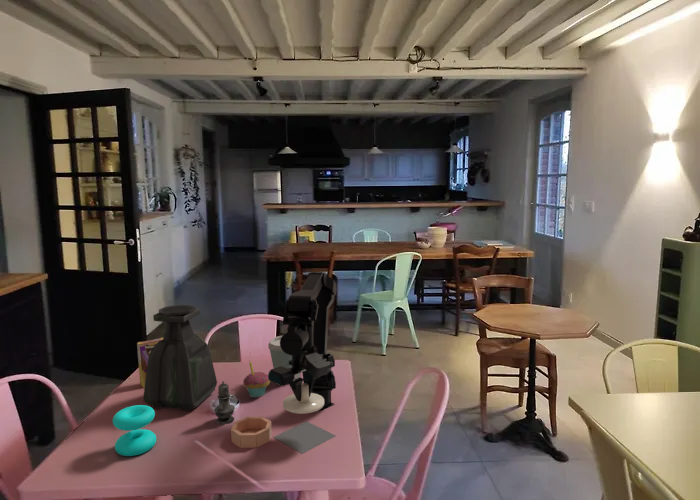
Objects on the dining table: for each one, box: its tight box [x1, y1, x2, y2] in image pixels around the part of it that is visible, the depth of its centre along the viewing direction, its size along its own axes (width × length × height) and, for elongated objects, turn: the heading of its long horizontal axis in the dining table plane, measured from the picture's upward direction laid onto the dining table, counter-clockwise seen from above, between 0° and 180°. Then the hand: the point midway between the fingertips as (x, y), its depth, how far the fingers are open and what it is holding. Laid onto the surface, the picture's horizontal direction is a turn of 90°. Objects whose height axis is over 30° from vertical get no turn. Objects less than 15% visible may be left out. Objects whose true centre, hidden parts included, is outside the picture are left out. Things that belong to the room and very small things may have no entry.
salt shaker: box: [213, 380, 236, 426], centre depth 139 cm, size 6×6×12 cm
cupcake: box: [243, 359, 271, 398], centre depth 157 cm, size 9×8×12 cm
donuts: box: [112, 404, 157, 457], centre depth 125 cm, size 10×10×10 cm
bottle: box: [142, 304, 218, 411], centre depth 151 cm, size 18×16×30 cm
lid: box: [282, 382, 324, 415], centre depth 127 cm, size 11×11×5 cm
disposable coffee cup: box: [268, 335, 292, 369], centre depth 167 cm, size 11×11×15 cm
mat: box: [273, 421, 337, 454], centre depth 129 cm, size 12×12×1 cm
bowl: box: [230, 416, 273, 449], centre depth 128 cm, size 10×10×4 cm
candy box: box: [136, 337, 163, 389], centre depth 166 cm, size 9×4×15 cm, turn 127°
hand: (303, 398), depth 127 cm, fingers closed on lid, 3 cm apart
